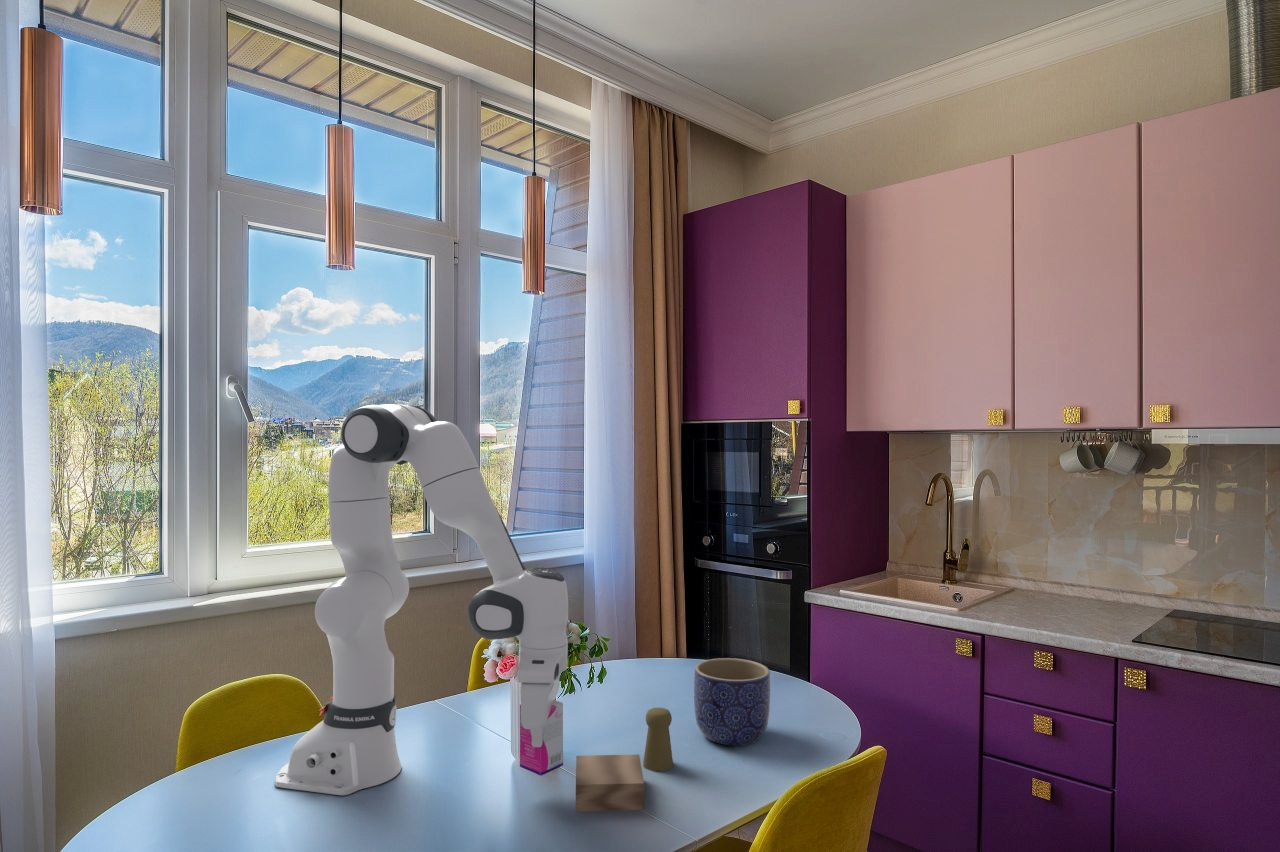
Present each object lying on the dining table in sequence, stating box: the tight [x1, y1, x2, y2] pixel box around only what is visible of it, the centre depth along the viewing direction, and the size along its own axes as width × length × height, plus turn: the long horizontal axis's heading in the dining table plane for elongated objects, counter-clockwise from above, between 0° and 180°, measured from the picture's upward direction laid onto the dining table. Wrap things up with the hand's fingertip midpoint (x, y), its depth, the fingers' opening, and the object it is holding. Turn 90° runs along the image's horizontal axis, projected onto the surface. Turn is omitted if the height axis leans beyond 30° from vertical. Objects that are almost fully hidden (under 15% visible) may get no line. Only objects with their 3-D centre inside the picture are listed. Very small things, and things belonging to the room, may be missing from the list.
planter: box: [693, 657, 771, 747], centre depth 166 cm, size 17×17×15 cm
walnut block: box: [575, 753, 645, 813], centre depth 139 cm, size 12×12×5 cm
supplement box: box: [519, 699, 564, 777], centre depth 137 cm, size 6×6×12 cm
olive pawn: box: [642, 707, 674, 772], centre depth 152 cm, size 6×6×11 cm
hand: (541, 735), depth 138 cm, fingers closed on supplement box, 8 cm apart
